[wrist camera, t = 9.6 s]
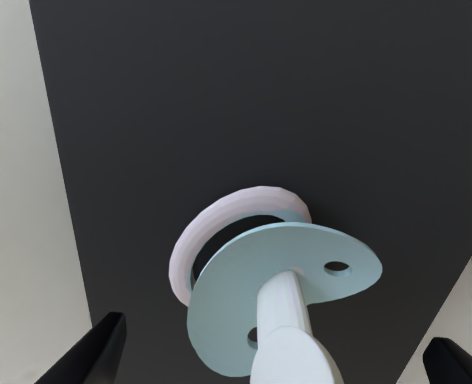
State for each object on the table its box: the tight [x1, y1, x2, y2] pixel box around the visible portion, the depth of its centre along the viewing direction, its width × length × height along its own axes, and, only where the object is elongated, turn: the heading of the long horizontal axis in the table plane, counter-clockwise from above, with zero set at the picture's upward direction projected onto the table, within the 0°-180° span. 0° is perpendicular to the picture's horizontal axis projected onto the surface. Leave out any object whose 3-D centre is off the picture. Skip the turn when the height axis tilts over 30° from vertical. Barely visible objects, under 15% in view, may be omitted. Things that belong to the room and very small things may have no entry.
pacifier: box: [169, 186, 382, 384], centre depth 9 cm, size 7×6×6 cm
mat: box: [29, 0, 472, 384], centre depth 12 cm, size 15×20×1 cm
